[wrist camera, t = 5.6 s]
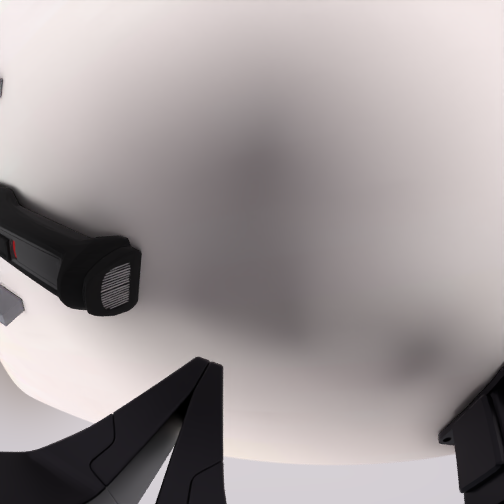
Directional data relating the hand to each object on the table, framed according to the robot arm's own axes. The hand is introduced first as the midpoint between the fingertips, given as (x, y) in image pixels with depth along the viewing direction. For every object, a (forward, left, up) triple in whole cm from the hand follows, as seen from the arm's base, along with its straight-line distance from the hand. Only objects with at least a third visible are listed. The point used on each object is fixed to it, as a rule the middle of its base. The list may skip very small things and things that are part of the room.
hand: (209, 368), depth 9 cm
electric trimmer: (+12, 0, -4) cm, 13 cm away
